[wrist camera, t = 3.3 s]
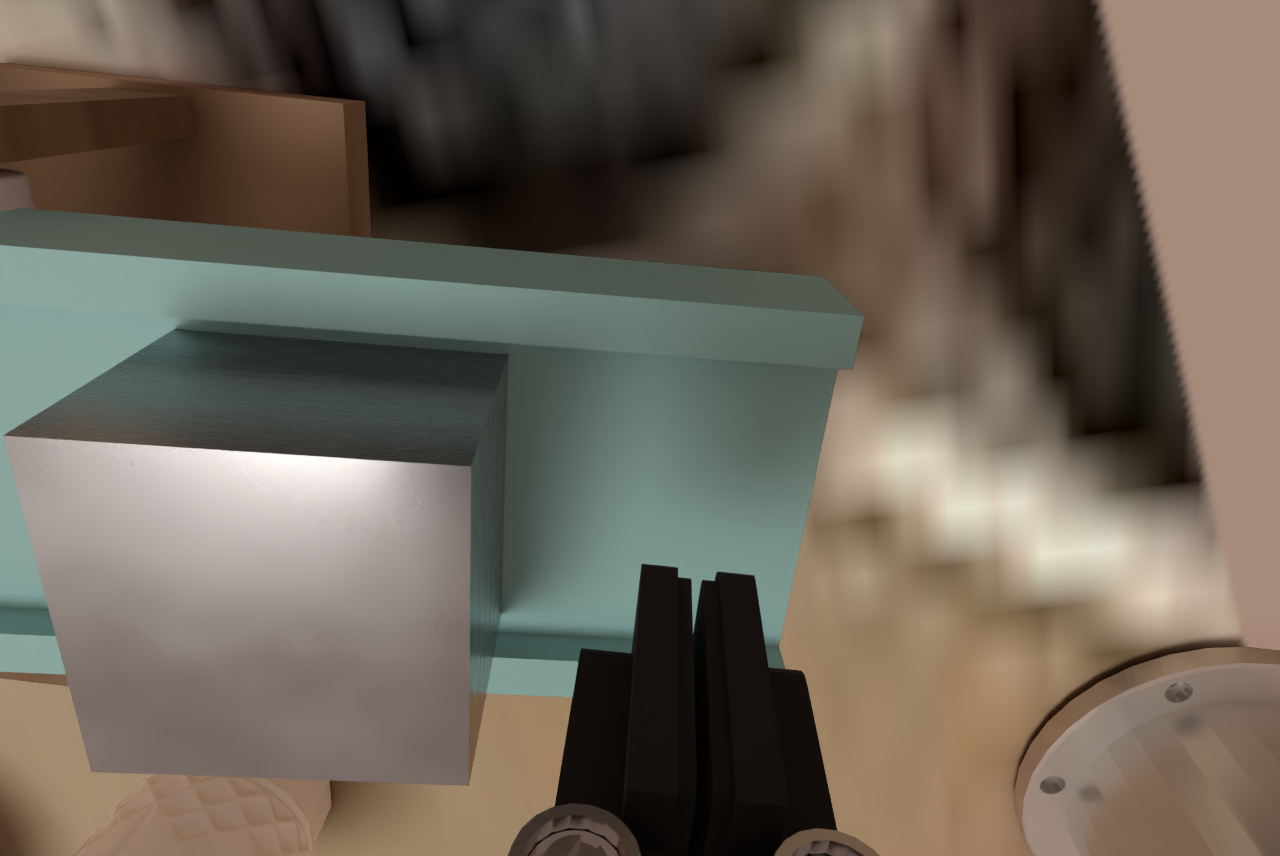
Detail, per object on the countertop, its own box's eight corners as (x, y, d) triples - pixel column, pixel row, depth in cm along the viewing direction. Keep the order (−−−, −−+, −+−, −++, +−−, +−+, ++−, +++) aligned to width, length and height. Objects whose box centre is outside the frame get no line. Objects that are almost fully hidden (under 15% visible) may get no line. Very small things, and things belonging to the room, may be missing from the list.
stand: (365, 101, 22) (158, 122, 13) (383, 513, 27) (245, 713, 19) (3, 63, 22) (-428, 60, 13) (94, 480, 27) (-173, 664, 19)
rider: (508, 354, 15) (471, 466, 11) (501, 614, 17) (468, 785, 13) (174, 329, 14) (2, 435, 10) (216, 599, 17) (92, 771, 13)
